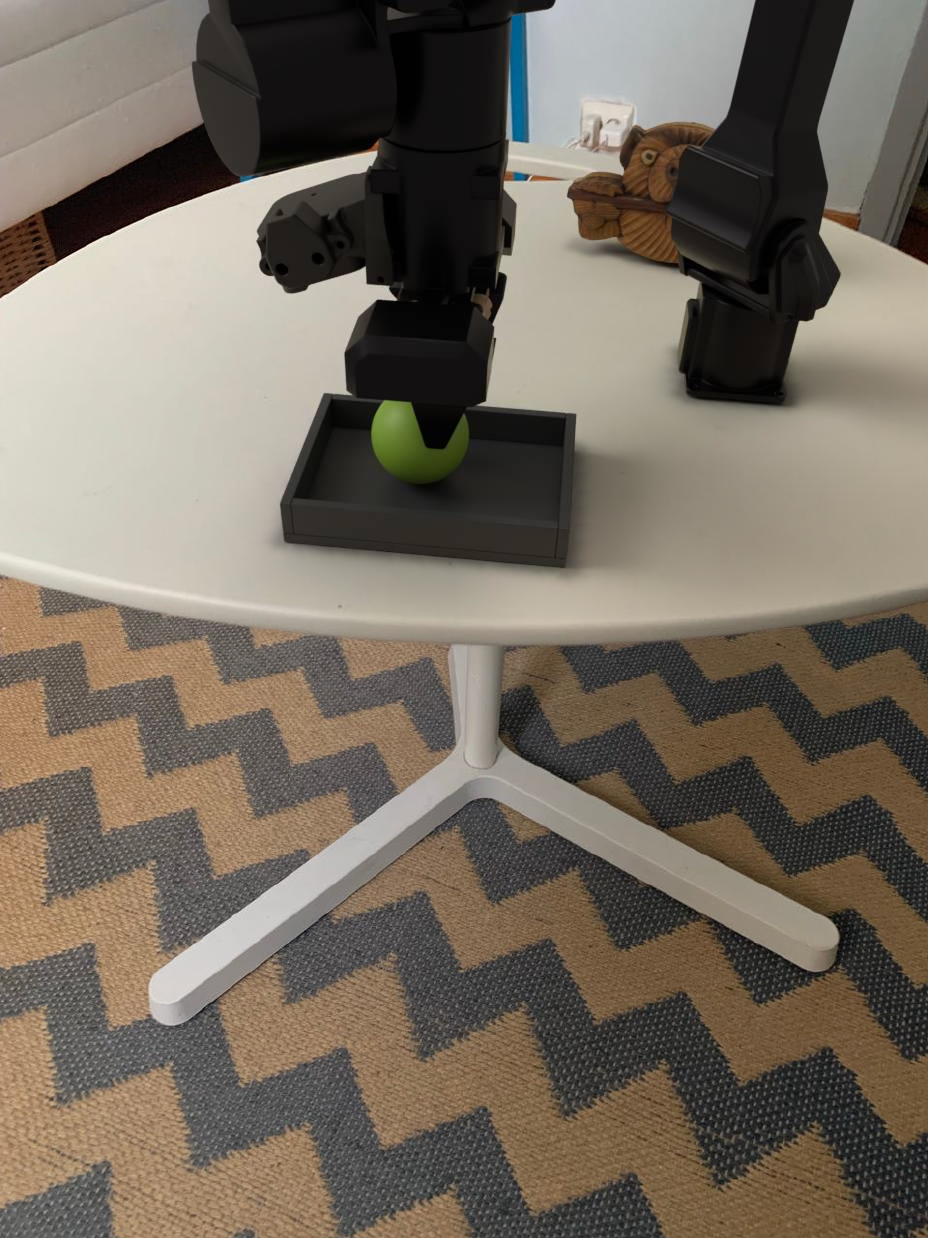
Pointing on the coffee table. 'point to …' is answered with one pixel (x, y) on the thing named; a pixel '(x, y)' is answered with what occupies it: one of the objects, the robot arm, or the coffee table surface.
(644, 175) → the wooden carving
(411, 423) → the snail figurine
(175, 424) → the coffee table surface
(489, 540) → the tray
